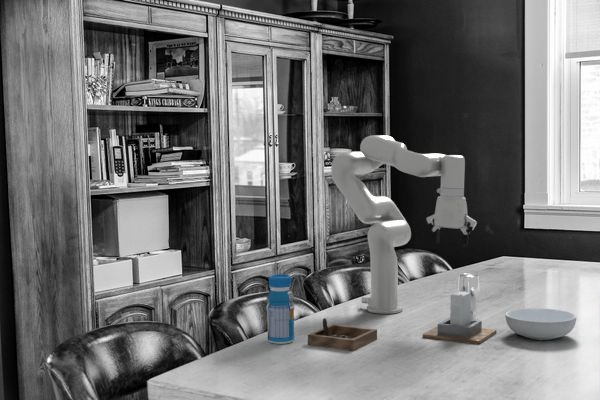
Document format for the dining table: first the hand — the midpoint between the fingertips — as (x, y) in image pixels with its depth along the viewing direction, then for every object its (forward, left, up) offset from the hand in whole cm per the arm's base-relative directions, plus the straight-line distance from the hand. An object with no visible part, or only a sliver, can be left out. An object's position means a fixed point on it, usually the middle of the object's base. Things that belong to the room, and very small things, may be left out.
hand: (450, 244), depth 271 cm
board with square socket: (+9, -17, -26) cm, 32 cm away
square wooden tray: (-19, -41, -26) cm, 51 cm away
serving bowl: (+31, -7, -26) cm, 41 cm away
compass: (-21, -40, -26) cm, 52 cm away
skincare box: (+10, -17, -25) cm, 31 cm away
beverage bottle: (-36, -49, -26) cm, 66 cm away
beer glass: (+4, +5, -26) cm, 27 cm away
